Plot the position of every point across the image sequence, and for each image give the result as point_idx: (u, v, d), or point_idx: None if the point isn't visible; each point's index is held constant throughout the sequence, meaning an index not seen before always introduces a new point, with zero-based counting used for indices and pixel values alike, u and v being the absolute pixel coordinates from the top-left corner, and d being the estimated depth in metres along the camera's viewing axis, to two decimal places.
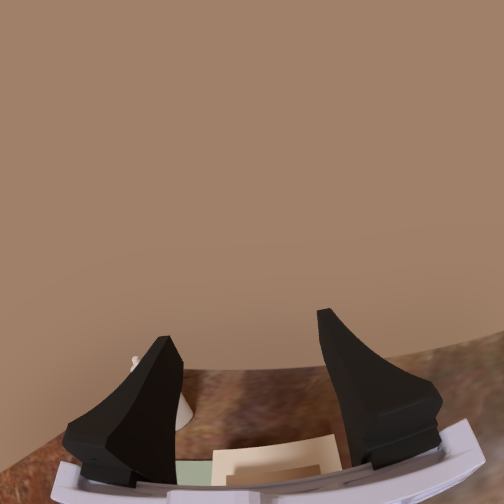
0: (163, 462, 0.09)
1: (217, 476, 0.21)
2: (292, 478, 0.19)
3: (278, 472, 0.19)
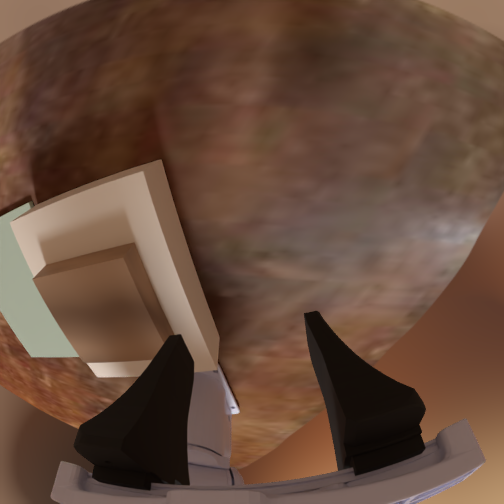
0: (176, 463, 0.09)
1: (30, 259, 0.17)
2: (97, 279, 0.16)
3: (78, 270, 0.16)
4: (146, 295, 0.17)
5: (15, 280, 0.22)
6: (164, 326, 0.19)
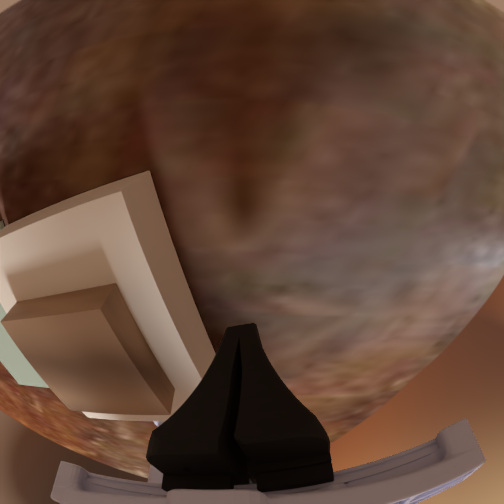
0: None
1: None
2: (72, 330, 0.12)
3: (48, 319, 0.11)
4: (134, 349, 0.13)
5: None
6: (159, 380, 0.15)
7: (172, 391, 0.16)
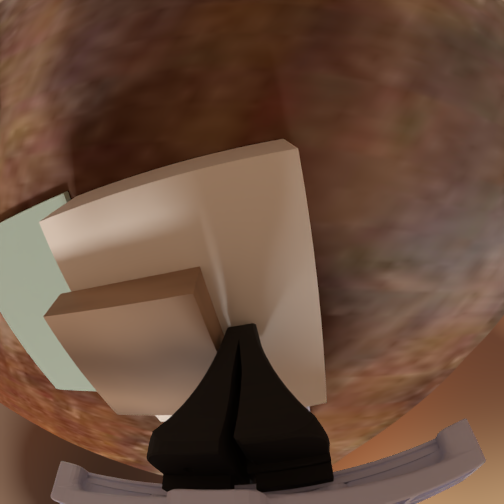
0: None
1: (72, 277, 0.13)
2: (147, 321, 0.11)
3: (116, 310, 0.11)
4: (217, 339, 0.13)
5: (37, 301, 0.17)
6: None
7: None
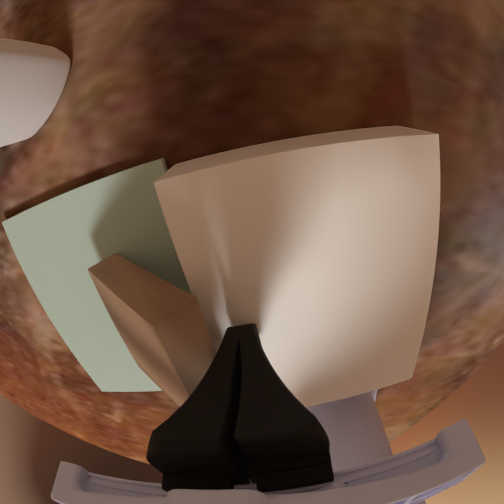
0: None
1: (190, 252, 0.12)
2: (134, 321, 0.11)
3: (116, 298, 0.12)
4: (195, 371, 0.11)
5: None
6: None
7: None
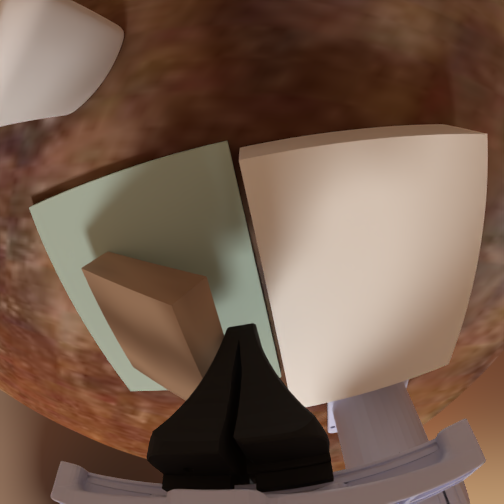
0: None
1: (270, 235, 0.12)
2: (143, 309, 0.12)
3: (122, 288, 0.12)
4: (206, 352, 0.12)
5: None
6: None
7: None
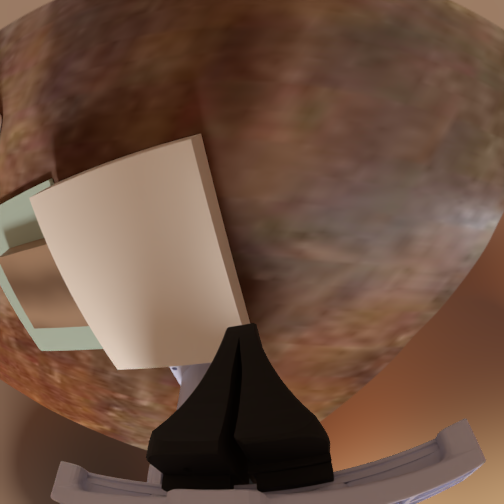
0: None
1: (50, 238, 0.17)
2: (38, 258, 0.19)
3: (26, 252, 0.19)
4: None
5: None
6: None
7: None
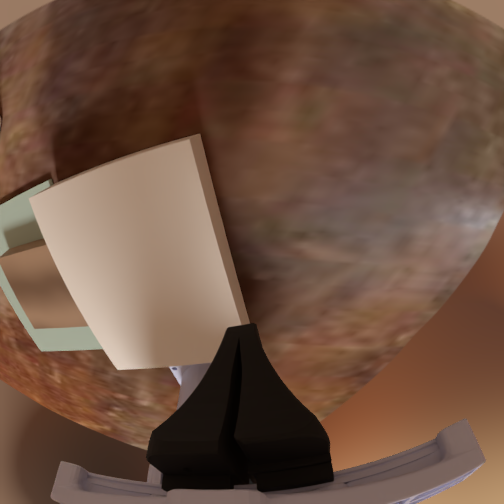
0: None
1: (50, 238, 0.17)
2: (38, 259, 0.19)
3: (26, 252, 0.19)
4: None
5: None
6: None
7: None
